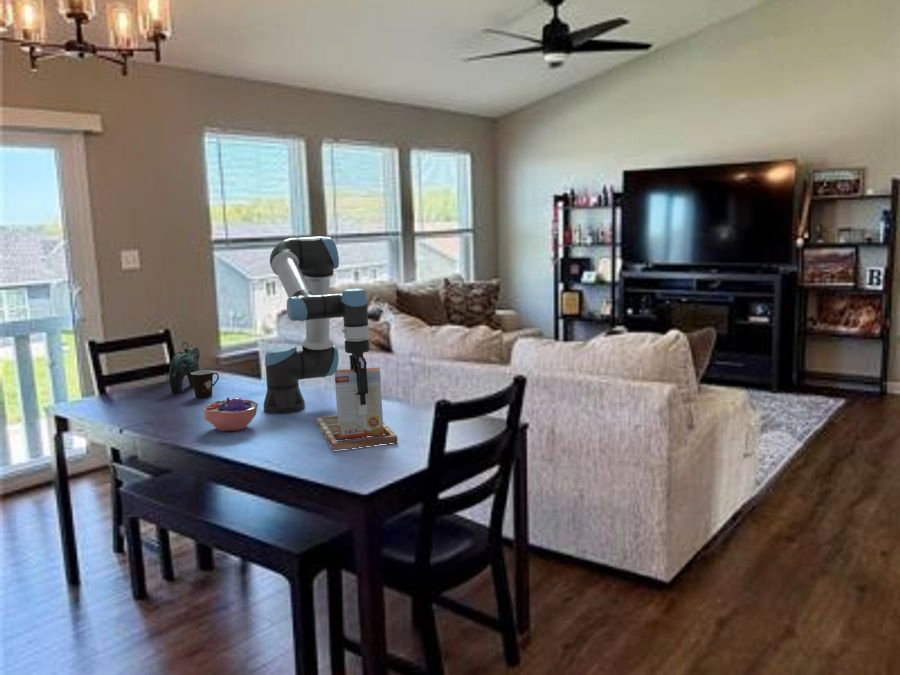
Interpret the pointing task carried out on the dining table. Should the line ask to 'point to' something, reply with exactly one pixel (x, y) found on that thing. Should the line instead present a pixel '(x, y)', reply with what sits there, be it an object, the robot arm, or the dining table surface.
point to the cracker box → (348, 404)
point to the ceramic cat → (183, 367)
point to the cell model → (230, 413)
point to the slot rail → (332, 437)
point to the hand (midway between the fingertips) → (360, 411)
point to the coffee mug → (203, 383)
